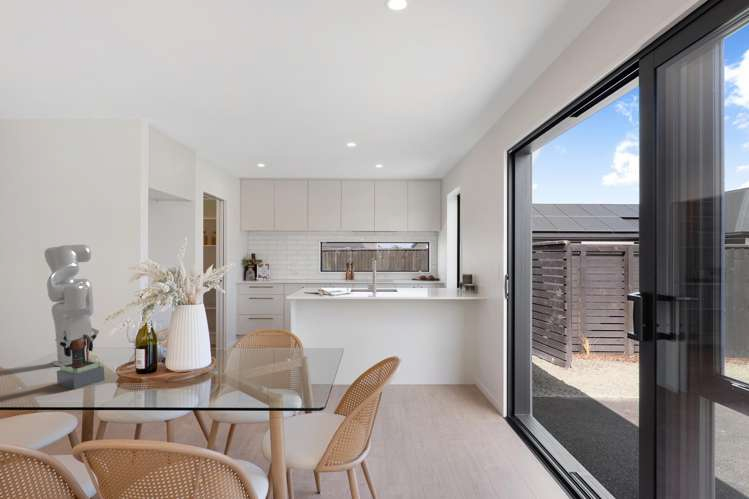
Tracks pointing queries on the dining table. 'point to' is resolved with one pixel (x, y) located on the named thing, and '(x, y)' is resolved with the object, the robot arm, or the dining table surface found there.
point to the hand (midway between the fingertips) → (79, 353)
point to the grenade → (80, 351)
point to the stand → (80, 375)
